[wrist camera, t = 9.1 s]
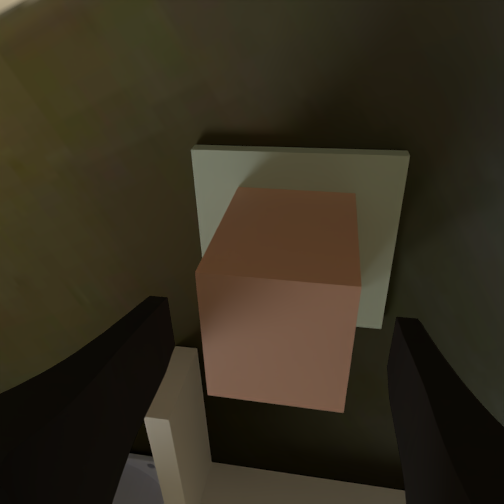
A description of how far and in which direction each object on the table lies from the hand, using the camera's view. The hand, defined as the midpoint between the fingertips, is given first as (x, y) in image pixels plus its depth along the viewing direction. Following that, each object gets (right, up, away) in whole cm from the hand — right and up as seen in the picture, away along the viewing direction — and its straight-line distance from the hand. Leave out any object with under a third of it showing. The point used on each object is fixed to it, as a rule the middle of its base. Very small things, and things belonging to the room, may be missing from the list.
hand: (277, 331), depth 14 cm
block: (+1, +3, +4) cm, 5 cm away
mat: (+1, +3, +5) cm, 6 cm away
